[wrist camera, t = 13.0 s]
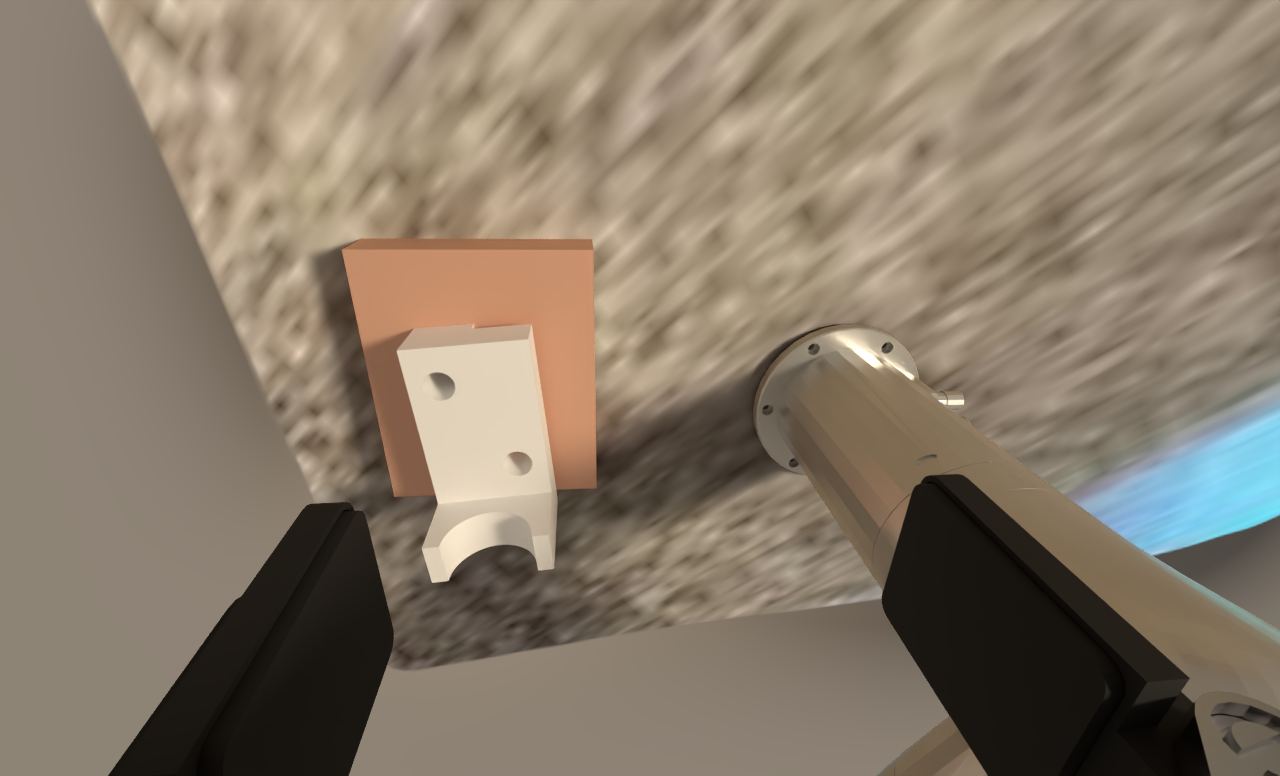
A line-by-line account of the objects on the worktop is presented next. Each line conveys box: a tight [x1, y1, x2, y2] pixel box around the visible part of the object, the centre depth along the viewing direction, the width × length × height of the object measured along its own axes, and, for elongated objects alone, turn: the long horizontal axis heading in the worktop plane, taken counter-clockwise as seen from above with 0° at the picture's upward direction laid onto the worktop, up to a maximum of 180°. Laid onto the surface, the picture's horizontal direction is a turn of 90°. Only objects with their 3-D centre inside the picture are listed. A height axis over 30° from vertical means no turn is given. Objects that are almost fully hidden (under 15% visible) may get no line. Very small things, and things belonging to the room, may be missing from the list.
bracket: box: [397, 324, 558, 583], centre depth 32 cm, size 13×7×8 cm, turn 3°
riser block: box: [342, 239, 597, 497], centre depth 37 cm, size 14×17×4 cm
